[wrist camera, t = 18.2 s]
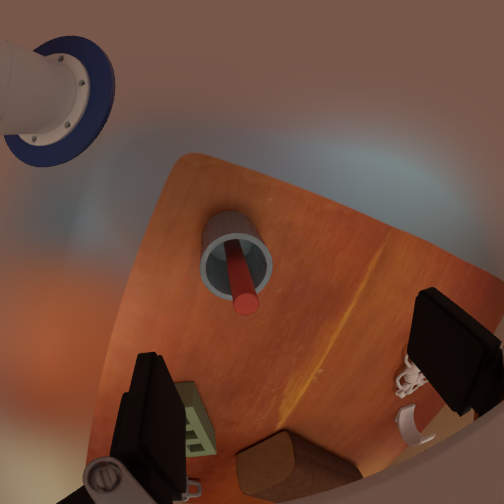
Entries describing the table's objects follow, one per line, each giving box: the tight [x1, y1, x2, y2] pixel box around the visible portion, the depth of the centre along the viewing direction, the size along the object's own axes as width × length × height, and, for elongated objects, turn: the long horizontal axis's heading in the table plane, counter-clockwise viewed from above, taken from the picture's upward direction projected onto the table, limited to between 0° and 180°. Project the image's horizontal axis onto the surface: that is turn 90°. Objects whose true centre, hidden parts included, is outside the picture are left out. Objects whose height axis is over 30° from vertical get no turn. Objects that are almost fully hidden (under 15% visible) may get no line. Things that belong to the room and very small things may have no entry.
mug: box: [173, 476, 202, 502], centre depth 56 cm, size 10×7×7 cm, turn 78°
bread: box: [236, 430, 363, 503], centre depth 56 cm, size 16×39×13 cm, turn 39°
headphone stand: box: [394, 403, 436, 446], centre depth 55 cm, size 5×6×12 cm
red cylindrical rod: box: [223, 239, 259, 315], centre depth 31 cm, size 2×2×16 cm
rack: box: [174, 381, 217, 457], centre depth 46 cm, size 6×16×6 cm, turn 9°
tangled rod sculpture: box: [395, 354, 428, 398], centre depth 52 cm, size 19×14×4 cm
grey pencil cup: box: [200, 211, 273, 300], centre depth 34 cm, size 7×7×10 cm
